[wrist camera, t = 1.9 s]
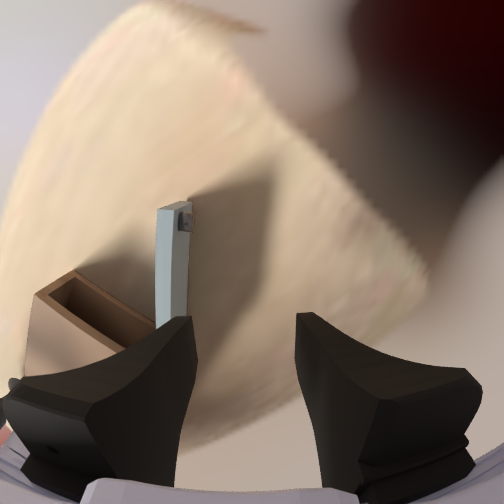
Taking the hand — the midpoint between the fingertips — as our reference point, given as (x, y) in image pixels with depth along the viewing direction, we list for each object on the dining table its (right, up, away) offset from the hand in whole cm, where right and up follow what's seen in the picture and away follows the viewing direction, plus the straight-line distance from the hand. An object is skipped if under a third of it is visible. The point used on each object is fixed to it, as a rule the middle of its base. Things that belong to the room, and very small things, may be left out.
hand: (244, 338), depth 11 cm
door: (-4, +2, +8) cm, 9 cm away
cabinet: (-11, -4, +9) cm, 15 cm away
